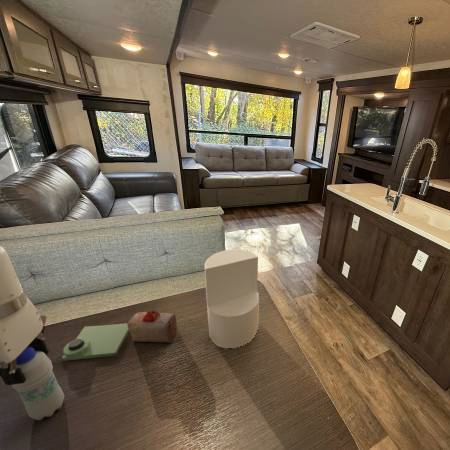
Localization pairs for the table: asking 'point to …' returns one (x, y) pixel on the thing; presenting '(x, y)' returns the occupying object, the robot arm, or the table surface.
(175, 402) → the table surface
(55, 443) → the table surface
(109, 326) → the scale
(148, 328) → the food item
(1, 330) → the robot arm
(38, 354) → the bottle
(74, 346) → the tare button
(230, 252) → the cylinder
